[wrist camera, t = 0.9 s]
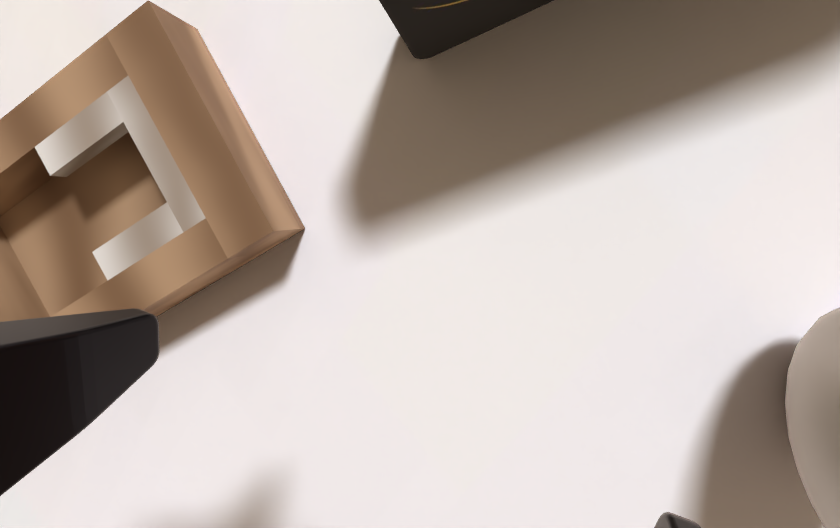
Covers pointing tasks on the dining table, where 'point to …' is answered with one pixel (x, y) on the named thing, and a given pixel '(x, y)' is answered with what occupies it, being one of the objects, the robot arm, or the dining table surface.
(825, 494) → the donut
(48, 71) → the dining table surface
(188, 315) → the dining table surface
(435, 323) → the dining table surface
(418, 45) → the nameplate
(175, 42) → the keyhole board
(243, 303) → the dining table surface
